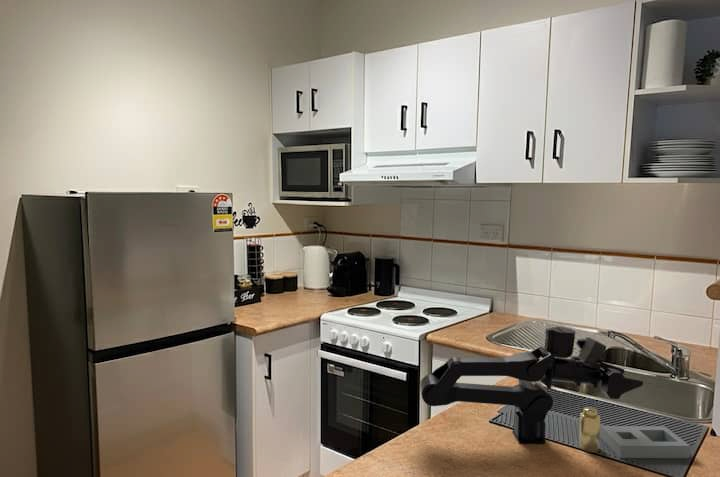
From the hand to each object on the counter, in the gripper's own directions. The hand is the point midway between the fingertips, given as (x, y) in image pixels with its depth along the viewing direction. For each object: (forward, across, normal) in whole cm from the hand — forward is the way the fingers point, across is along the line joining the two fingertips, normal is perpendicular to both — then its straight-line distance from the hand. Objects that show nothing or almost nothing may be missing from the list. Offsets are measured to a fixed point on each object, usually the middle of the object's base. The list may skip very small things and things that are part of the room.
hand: (632, 377), depth 126 cm
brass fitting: (-11, -4, +17) cm, 21 cm away
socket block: (+2, -4, +16) cm, 16 cm away
